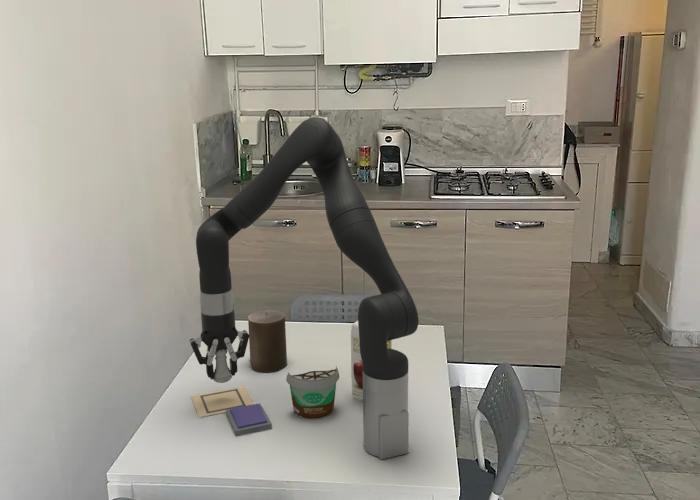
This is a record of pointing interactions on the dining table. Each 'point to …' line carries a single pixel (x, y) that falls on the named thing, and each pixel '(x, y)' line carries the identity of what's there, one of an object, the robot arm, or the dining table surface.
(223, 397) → the marked card
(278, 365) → the pillar candle
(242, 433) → the ink pad
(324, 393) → the food container
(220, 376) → the rook chess piece
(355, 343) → the juice carton
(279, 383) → the dining table surface
